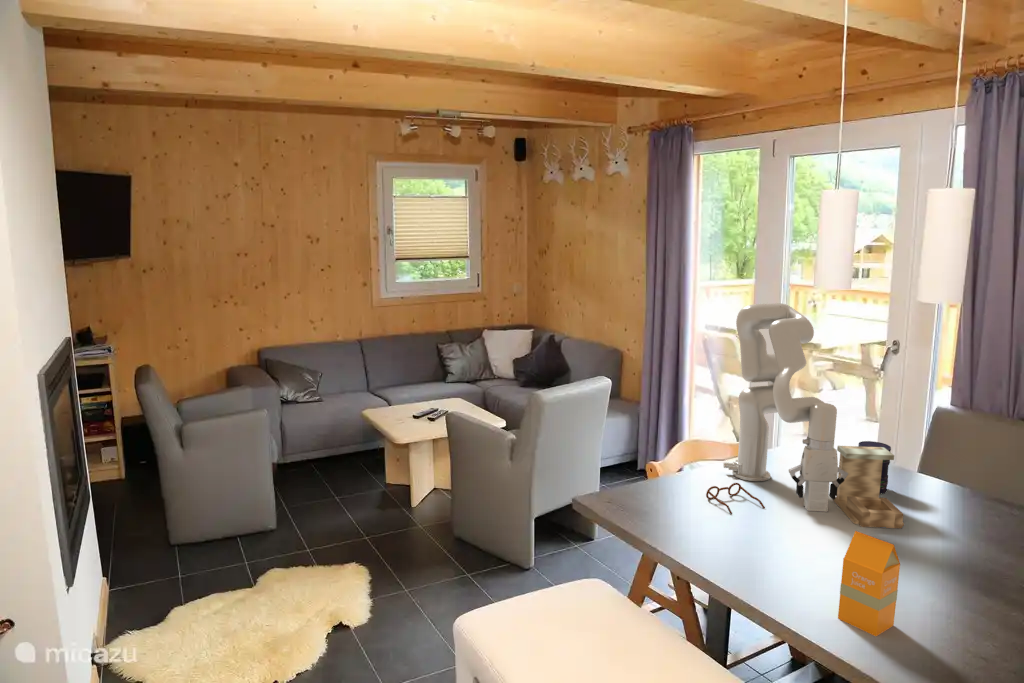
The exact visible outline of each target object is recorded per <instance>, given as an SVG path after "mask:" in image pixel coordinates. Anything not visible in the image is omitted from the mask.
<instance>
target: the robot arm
mask: <svg viewBox="0 0 1024 683" xmlns="http://www.w3.org/2000/svg"><path fill="white" fill-rule="evenodd" d="M735 323H736V332H737V335H738V339H739V344H740V349H739V351H740V367H741V368H740V369H741V375H742V378H743V379H744V380H745V381H746V382H747V383H767V385H758V386H750V387H746V388H744V389H743V390H741V392H740V393H739V396H738V407H739V419H740V421H739V436H738V451H737V452H738V453H737V459H735V462H734V461H733V462H723V463H722V464H723V469H728V471H732V472H731V473H732V475H733V476H734V477H736V478H738V479H741V480H743V481H747V482H749V481H750V482H765V481H768V480H770V479H771V473H770V472H769V471H768V470H767V465H768V464H767V460H768V447H769V435H770V434H769V433H770V432H769V431H770V428H769V423H768V421H767V419H766V417H765V415H766V414H776V413H778V416H779V417H780V419H781V420H783V421H784V422H785V423H787V424H788V423H789V424H795V423H804V422H806V423H807V422H808V427H807V428H808V429H807V436H806V438H805V439H802V444H803V445H804V444H805V445H804V448H803V452H802V453H801V454H802V455H801V460H800V464H799V465H797V466H796V465H795V466H794V467H791V468H789V469H788V473H789V475H790V477H791V478H792V480H793V481H794V482H795V483H796V486H795V494H796V495H797V496H798V497H799V498H800V499H802V498H803V497H804V485H803V484H805V481H815V482H829V495H828V496H829V497H830V498H831V500H832V499H835V497H836V496H837V489H838V487H839V485H840V484H841V483H843V482H844V480H845V478H846V477H847V475H848V473H847V472H846V471H844V470H842V469H840V468H839V463H838V462H839V461H838V459H839V458H838V451H837V449H836V448H835V437H836V427H837V426H836V425H837V417H838V416H837V414H838V411H837V410H838V409H837V407H836V405H834V404H831V403H828V402H825V401H823V400H821V399H819V398H818V397H815V396H805V397H804V396H803V397H792V394H791V391H790V390H791V389H790V383H791V380H792V378H793V375H795V374H796V373H797V372H799V371H800V370H802V369H804V368H805V367H806V366H807V360H806V359H807V358H806V356H805V353H804V349H803V346H802V344H808V343H810V342H811V341H812V340H813V339H814V334H815V331H814V327H813V324H812V323H811V322H810V320H809V319H808V318H807V317H806V316H804V315H803V314H802V313H801V312H799V311H797V310H796V309H794V308H793V307H792V306H790V305H788V304H786V303H777V302H776V303H755V304H750V305H746V306H743V307H742V308H741V309H740V310H739V312H738V313H737V315H736V321H735ZM767 329H768V333H769V338H770V341H771V345H772V349H773V352H774V353H768V352H767V342H766V339H765V336H764V334H762V332H761V330H767ZM797 472H799V476H797V475H796V473H797ZM838 472H839V473H840V474H841V475H840V477H839V478H838Z"/></svg>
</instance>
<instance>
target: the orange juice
mask: <svg viewBox="0 0 1024 683" xmlns="http://www.w3.org/2000/svg"><path fill="white" fill-rule="evenodd" d="M900 570H901V562H900V559H899V556H898V553H897V550H896V547H895V545H894V544H893V543H890V542H888V541H885V540H882V539H879V538H876V537H874V536H871V535H868V534H866V533H863V532H860V531H857V530H855V531H854V533H853V535H852V538H851V540H850V543H849V545H848V547H847V550H846V552H845V555H844V557H843V560H842V570H841V581H840V582H841V583H840V588H839V601H838V602H839V603H838V611H837V612H838V613H837V619H838V620H840V621H842V622H844V623H846V624H849V625H851V626H852V627H855V628H857V629H859V630H861V631H863V632H866V634H867V633H868V634H869V635H872V636H874V637H877V636H879V635H881V634H882V633H884V632H886V631H887V630H889V629H890V628H892V627H894V624H895V616H896V606H897V600H898V591H899V590H898V588H899V579H900Z"/></svg>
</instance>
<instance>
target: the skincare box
mask: <svg viewBox="0 0 1024 683" xmlns="http://www.w3.org/2000/svg"><path fill="white" fill-rule="evenodd" d="M829 494H830V482H815V481H805V482H804V494H803V497H804V500H803V507H804V506H805V507H804V508H805V509H806V511H808V512H809V511H810V512H825V513H826V512H828V508H829V505H828V504H829V496H830V495H829Z"/></svg>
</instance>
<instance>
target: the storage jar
mask: <svg viewBox="0 0 1024 683" xmlns="http://www.w3.org/2000/svg"><path fill="white" fill-rule="evenodd" d="M857 445H858V446H860V447H884V448H885V449H887V450H888V451H889V452H891V451H892V447H891V445H889V444H886V443H883V442H878V441H871V440H867V441H866V440H865V441H863V440H862V441H859V442H858V444H857ZM890 463H891V460H883V463H882V473H881V483H880V493H879V495H882V494H881V493H884V494H886V493H887V492H886V491H888V490H887V488H888V484H889V473H888V472H889V465H890ZM885 492H886V493H885Z"/></svg>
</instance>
